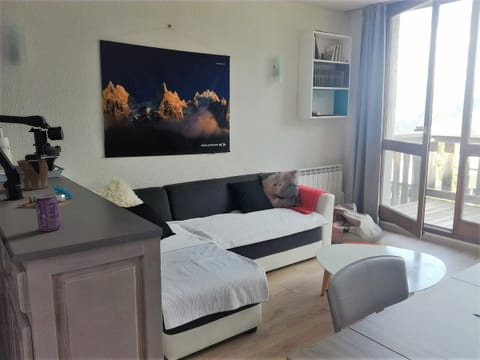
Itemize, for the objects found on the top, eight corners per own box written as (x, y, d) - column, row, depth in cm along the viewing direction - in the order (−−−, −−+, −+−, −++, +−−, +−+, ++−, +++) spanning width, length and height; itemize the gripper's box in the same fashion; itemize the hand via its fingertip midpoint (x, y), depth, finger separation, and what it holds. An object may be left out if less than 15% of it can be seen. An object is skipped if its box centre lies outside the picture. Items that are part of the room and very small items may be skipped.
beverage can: (43, 227, 143) (39, 194, 141) (64, 226, 143) (60, 193, 141) (35, 233, 136) (30, 198, 134) (56, 231, 136) (52, 197, 134)
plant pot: (58, 186, 227) (55, 158, 224) (30, 192, 214) (27, 162, 211) (41, 184, 236) (38, 157, 233) (14, 189, 222) (10, 161, 219)
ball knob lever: (29, 202, 178) (29, 196, 178) (36, 200, 182) (35, 194, 182) (61, 202, 175) (60, 196, 175) (67, 200, 180) (66, 194, 179)
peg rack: (18, 207, 176) (16, 197, 176) (33, 202, 186) (32, 193, 185) (58, 207, 173) (57, 197, 172) (72, 202, 182) (71, 192, 182)
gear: (77, 196, 189) (59, 183, 183) (69, 206, 186) (51, 194, 180) (67, 196, 196) (50, 184, 191) (60, 206, 194) (42, 194, 188)
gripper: (43, 142, 184) (47, 175, 186) (67, 139, 202) (70, 169, 205) (21, 143, 186) (26, 175, 189) (47, 139, 204) (51, 170, 207)
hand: (45, 172), depth 197 cm, fingers open, 9 cm apart
